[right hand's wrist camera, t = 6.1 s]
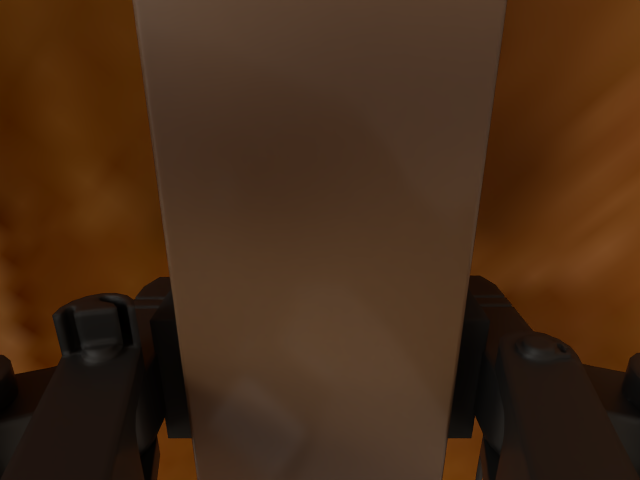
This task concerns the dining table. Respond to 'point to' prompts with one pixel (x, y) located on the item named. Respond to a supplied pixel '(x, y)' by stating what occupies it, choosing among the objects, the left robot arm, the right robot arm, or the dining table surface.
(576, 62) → the dining table surface
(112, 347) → the right robot arm
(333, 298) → the bar
